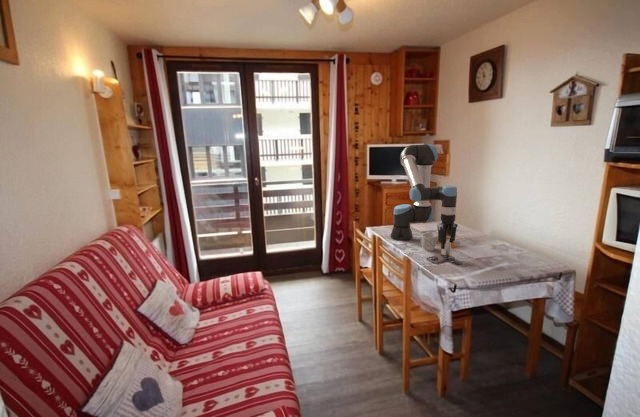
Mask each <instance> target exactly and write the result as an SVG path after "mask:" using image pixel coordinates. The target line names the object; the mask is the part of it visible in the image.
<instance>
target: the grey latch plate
mask: <svg viewBox="0 0 640 417" xmlns="http://www.w3.org/2000/svg"><path fill="white" fill-rule="evenodd" d="M445 262H446V263H449V264H451V265H454V266H456V267H459V266H461V265H465V264H467V263H465V262H464V261H460V260H459V259H456V258H455V259H453V260H449V261H445Z"/></svg>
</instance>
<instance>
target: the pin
mask: <svg viewBox="0 0 640 417" xmlns="http://www.w3.org/2000/svg"><path fill="white" fill-rule="evenodd" d="M450 238H451V236H450V235H447V237H446V255H444V254H443V257H444V258H448V257H449V255H450V254H449V242H450Z"/></svg>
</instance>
